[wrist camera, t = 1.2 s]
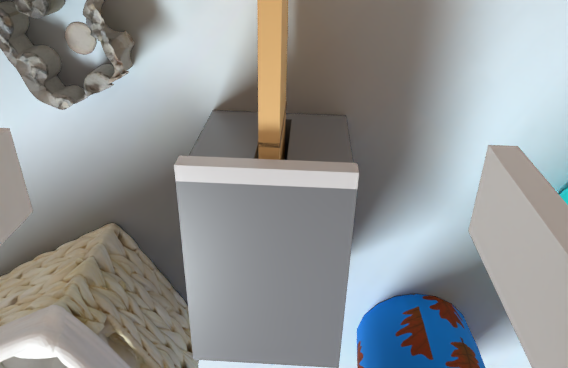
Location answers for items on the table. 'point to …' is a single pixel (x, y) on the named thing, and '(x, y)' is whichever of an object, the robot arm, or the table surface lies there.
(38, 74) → the egg carton
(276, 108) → the ticket
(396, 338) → the thermos
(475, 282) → the table surface
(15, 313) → the storage basket
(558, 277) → the robot arm
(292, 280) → the box
